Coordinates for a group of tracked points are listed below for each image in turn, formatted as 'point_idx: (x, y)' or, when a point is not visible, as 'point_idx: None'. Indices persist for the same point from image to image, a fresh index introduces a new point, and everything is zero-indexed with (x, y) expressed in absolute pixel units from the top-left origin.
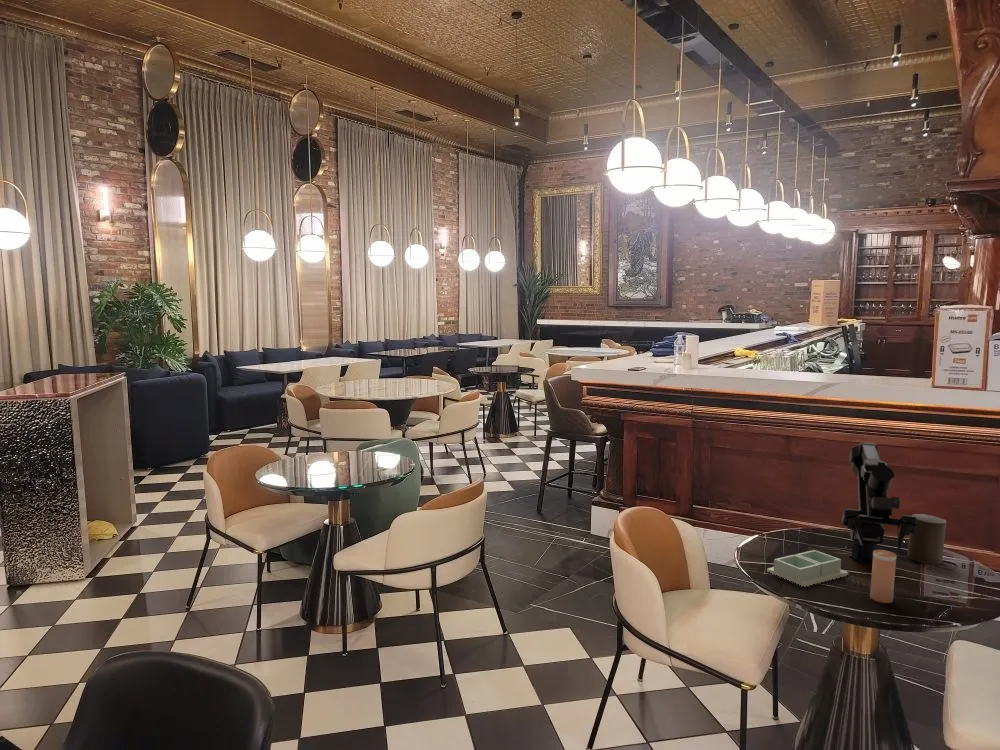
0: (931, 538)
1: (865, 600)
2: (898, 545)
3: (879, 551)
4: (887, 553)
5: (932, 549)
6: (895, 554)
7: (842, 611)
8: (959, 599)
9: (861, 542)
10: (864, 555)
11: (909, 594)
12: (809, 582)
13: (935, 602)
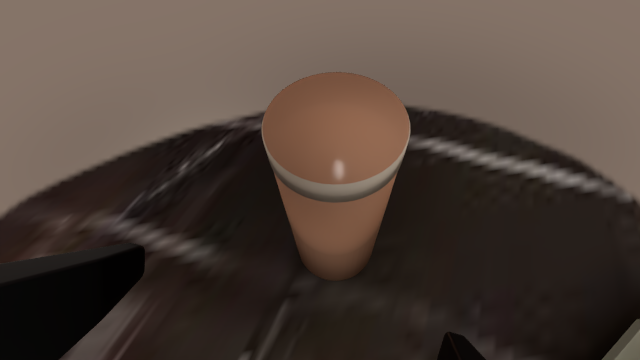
0: None
1: (398, 220)
2: (117, 260)
3: (361, 144)
4: (317, 119)
5: None
6: (270, 109)
7: (490, 132)
8: None
9: (473, 347)
10: None
11: (193, 308)
12: (631, 341)
13: (148, 242)
